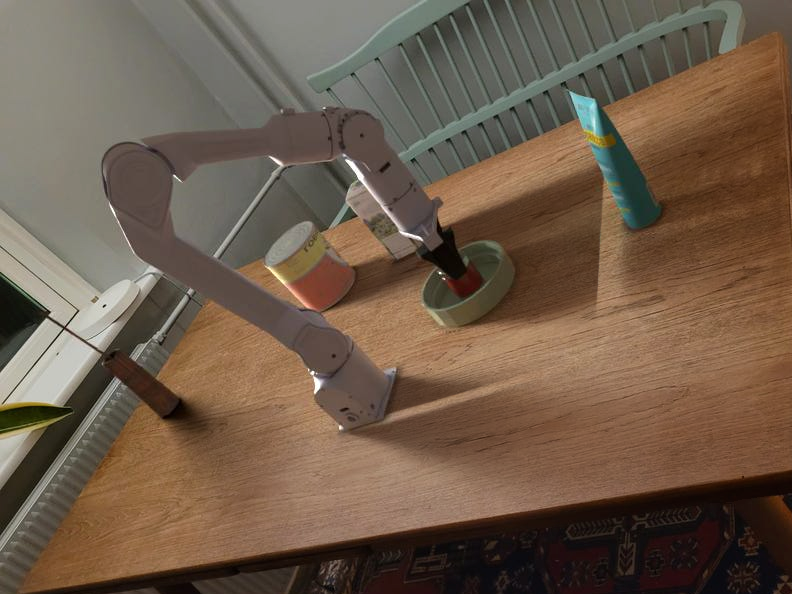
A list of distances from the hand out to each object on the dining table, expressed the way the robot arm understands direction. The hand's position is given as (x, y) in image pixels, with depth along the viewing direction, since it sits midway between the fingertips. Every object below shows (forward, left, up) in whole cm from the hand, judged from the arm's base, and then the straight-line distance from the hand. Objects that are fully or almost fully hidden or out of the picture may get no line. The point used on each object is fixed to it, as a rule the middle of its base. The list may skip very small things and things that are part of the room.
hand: (453, 264), depth 100 cm
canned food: (+17, +35, -6) cm, 39 cm away
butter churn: (0, +70, -6) cm, 70 cm away
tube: (+3, -26, -6) cm, 27 cm away
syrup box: (+20, +17, -6) cm, 27 cm away
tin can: (0, 0, -5) cm, 5 cm away
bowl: (0, 0, -6) cm, 6 cm away
